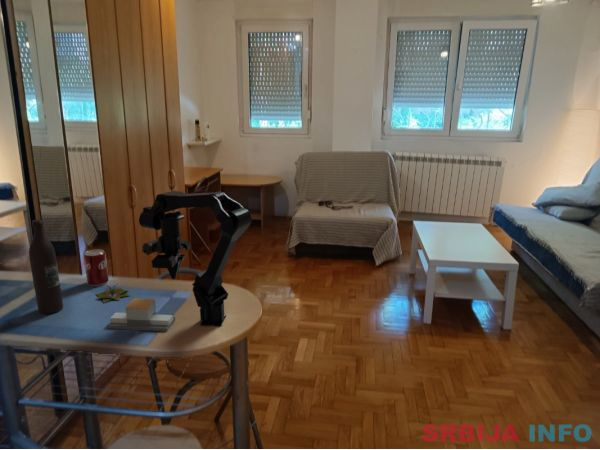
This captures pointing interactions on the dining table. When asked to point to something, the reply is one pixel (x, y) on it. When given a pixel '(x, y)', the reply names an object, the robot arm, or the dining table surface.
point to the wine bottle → (44, 271)
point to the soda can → (96, 267)
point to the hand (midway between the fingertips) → (173, 278)
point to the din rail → (155, 325)
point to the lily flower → (112, 292)
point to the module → (140, 311)
